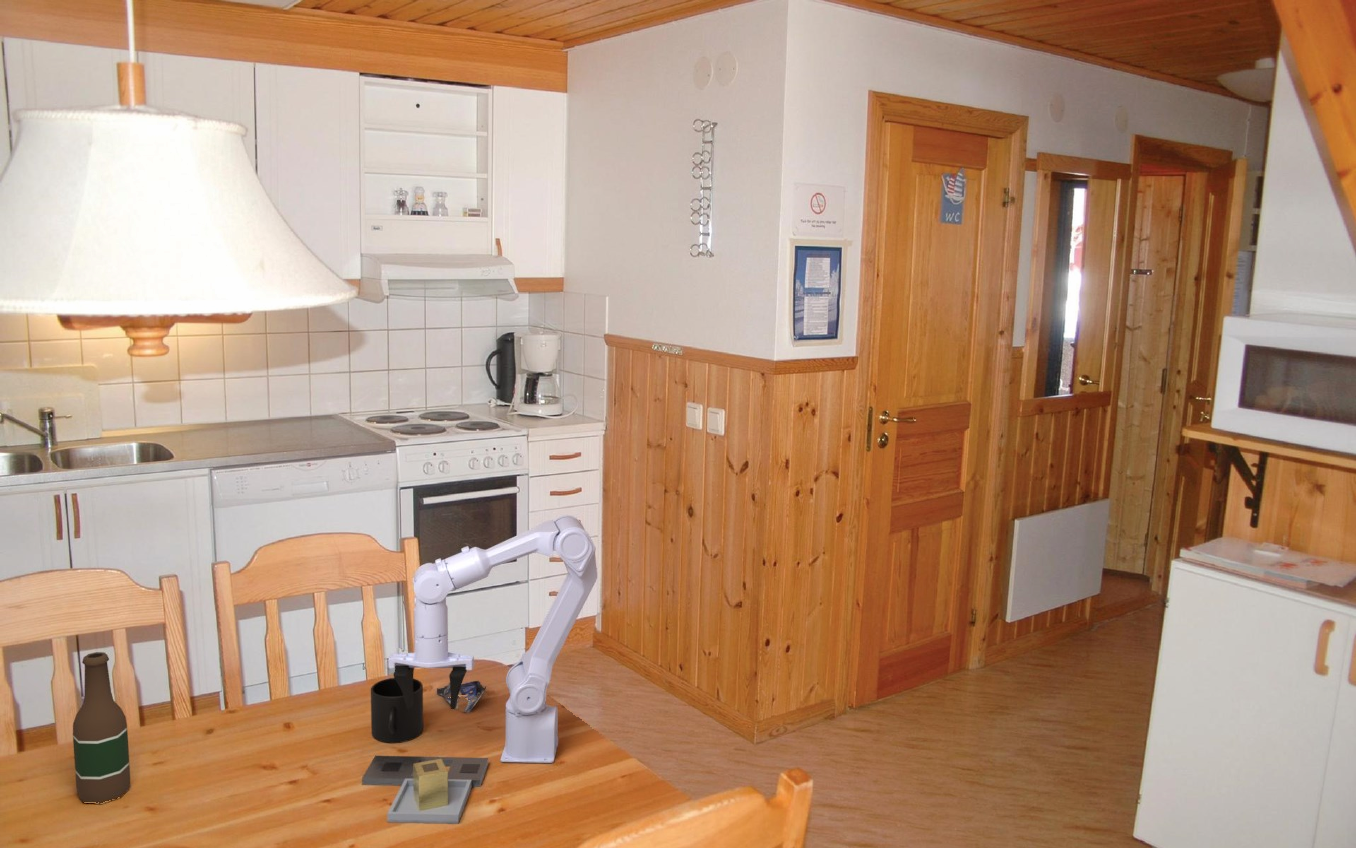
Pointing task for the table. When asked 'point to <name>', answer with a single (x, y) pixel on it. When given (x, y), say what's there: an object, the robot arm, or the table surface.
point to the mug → (395, 712)
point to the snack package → (464, 693)
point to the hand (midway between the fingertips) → (431, 706)
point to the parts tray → (408, 811)
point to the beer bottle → (100, 737)
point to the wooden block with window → (430, 784)
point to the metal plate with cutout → (401, 767)
